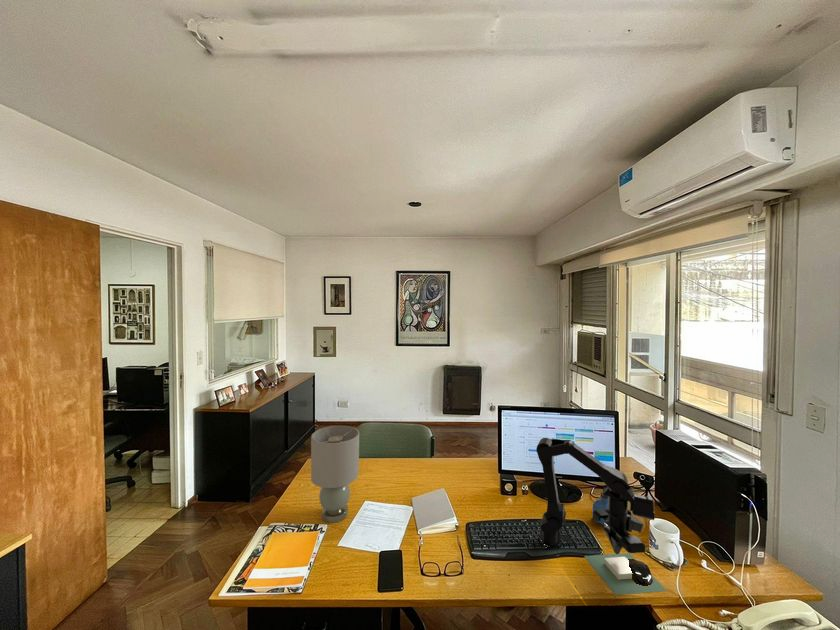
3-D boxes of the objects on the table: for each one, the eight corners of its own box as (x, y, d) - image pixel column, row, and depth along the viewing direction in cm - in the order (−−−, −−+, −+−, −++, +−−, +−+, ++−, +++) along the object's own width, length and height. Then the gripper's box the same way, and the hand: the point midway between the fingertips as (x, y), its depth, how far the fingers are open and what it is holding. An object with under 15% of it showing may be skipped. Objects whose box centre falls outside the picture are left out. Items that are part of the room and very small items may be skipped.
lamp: (346, 534, 127) (347, 445, 126) (300, 526, 131) (301, 440, 130) (365, 504, 147) (366, 427, 146) (324, 498, 151) (325, 423, 150)
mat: (615, 596, 101) (615, 595, 101) (583, 557, 117) (583, 556, 117) (667, 591, 103) (667, 590, 103) (629, 554, 119) (629, 552, 119)
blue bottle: (604, 527, 133) (604, 499, 133) (592, 518, 139) (593, 490, 139) (616, 525, 135) (616, 497, 135) (604, 516, 141) (604, 489, 141)
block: (603, 563, 114) (618, 580, 107) (604, 558, 114) (618, 574, 107) (624, 562, 114) (640, 578, 107) (624, 556, 114) (640, 572, 107)
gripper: (661, 526, 104) (660, 573, 105) (619, 493, 123) (618, 533, 123) (629, 528, 103) (628, 575, 103) (592, 494, 122) (591, 535, 122)
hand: (616, 553), depth 113 cm, fingers closed
